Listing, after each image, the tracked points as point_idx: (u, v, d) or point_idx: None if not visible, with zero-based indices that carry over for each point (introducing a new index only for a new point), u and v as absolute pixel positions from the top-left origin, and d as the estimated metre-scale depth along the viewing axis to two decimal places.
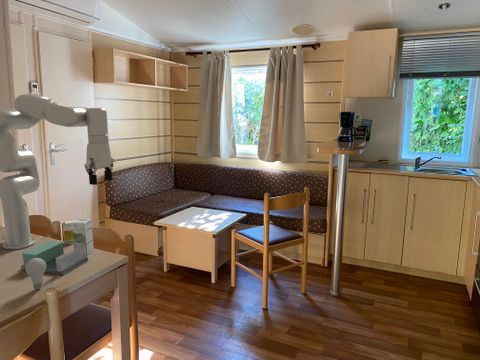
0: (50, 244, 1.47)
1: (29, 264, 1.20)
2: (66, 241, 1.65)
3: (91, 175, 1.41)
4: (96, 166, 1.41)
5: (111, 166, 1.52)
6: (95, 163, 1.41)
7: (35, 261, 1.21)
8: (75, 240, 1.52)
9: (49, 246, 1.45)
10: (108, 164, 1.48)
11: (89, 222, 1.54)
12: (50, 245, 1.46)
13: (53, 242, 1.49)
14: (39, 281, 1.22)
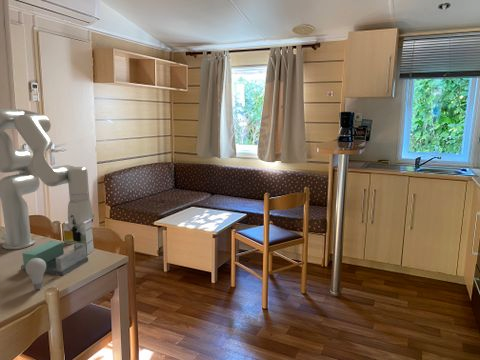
0: (50, 244, 1.47)
1: (29, 264, 1.20)
2: (66, 241, 1.65)
3: (75, 232, 1.50)
4: (77, 223, 1.48)
5: None
6: (76, 220, 1.48)
7: (35, 261, 1.21)
8: None
9: (49, 246, 1.45)
10: None
11: (89, 222, 1.54)
12: (50, 245, 1.46)
13: (53, 242, 1.49)
14: (39, 281, 1.22)
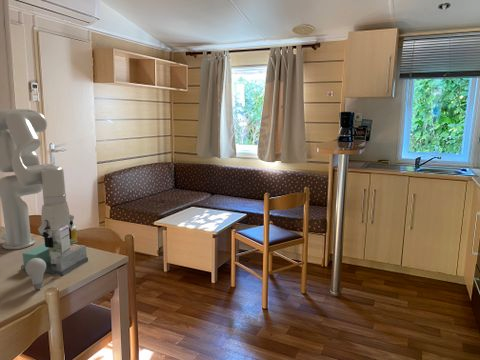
0: None
1: (29, 264, 1.20)
2: None
3: (46, 238, 1.35)
4: (51, 228, 1.35)
5: (70, 224, 1.46)
6: (50, 225, 1.34)
7: (35, 261, 1.21)
8: (49, 249, 1.39)
9: None
10: (66, 223, 1.41)
11: (66, 229, 1.40)
12: None
13: None
14: (39, 281, 1.22)
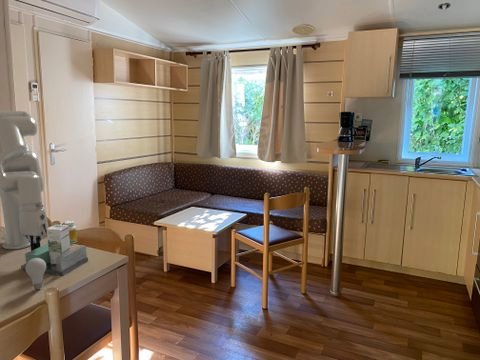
0: None
1: (29, 264, 1.20)
2: None
3: None
4: None
5: None
6: None
7: (35, 261, 1.21)
8: (49, 249, 1.39)
9: None
10: (34, 233, 1.40)
11: (66, 229, 1.40)
12: None
13: None
14: (39, 281, 1.22)
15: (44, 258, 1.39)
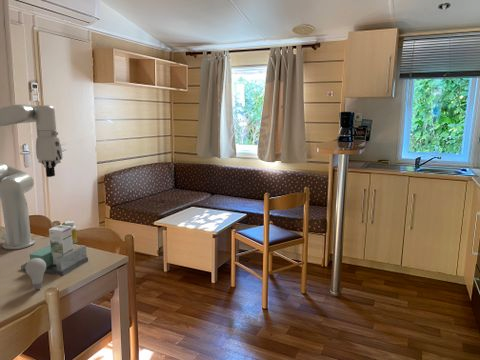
0: None
1: (29, 264, 1.20)
2: None
3: None
4: (37, 157, 1.59)
5: None
6: None
7: (35, 261, 1.21)
8: (52, 249, 1.38)
9: None
10: (50, 158, 1.57)
11: (68, 230, 1.39)
12: None
13: None
14: (39, 281, 1.22)
15: (48, 259, 1.38)
